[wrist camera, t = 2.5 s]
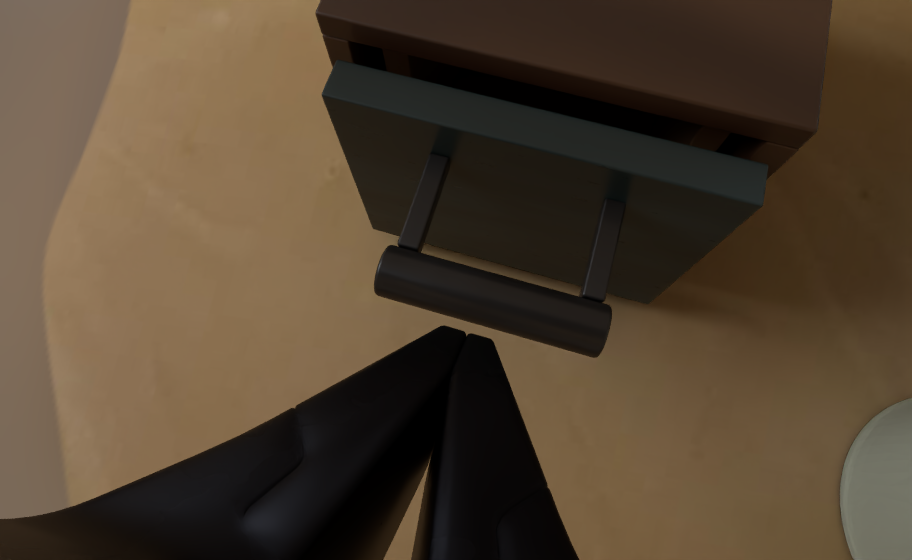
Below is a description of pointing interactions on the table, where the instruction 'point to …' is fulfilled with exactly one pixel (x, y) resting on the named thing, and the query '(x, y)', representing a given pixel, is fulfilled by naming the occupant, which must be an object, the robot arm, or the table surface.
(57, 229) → the table surface
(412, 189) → the drawer
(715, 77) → the cabinet
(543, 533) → the robot arm
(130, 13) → the table surface
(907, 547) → the can
